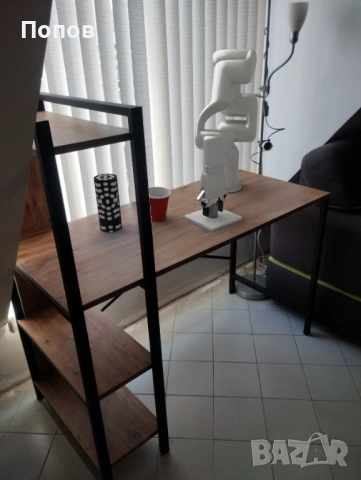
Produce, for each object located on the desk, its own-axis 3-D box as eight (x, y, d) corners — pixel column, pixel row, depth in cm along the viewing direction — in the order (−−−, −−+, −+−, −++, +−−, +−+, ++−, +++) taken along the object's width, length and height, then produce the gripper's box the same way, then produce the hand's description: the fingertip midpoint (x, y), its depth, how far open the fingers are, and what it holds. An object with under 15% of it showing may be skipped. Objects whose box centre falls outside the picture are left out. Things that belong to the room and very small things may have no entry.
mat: (213, 207, 163) (213, 206, 162) (245, 220, 150) (245, 219, 150) (180, 218, 153) (180, 217, 153) (211, 233, 140) (211, 232, 140)
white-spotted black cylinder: (122, 231, 144) (117, 179, 135) (99, 233, 143) (93, 181, 134) (121, 222, 151) (116, 172, 142) (100, 224, 150) (93, 174, 141)
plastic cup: (160, 227, 146) (158, 197, 140) (139, 221, 152) (137, 192, 146) (178, 218, 153) (177, 189, 148) (157, 212, 159) (155, 184, 154)
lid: (213, 207, 161) (213, 194, 159) (241, 219, 150) (242, 204, 147) (184, 217, 152) (183, 203, 150) (211, 230, 141) (211, 215, 138)
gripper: (223, 162, 150) (222, 205, 158) (188, 171, 140) (189, 216, 148) (237, 166, 144) (235, 210, 152) (202, 175, 135) (202, 222, 143)
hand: (212, 213), depth 150 cm, fingers open, 6 cm apart
